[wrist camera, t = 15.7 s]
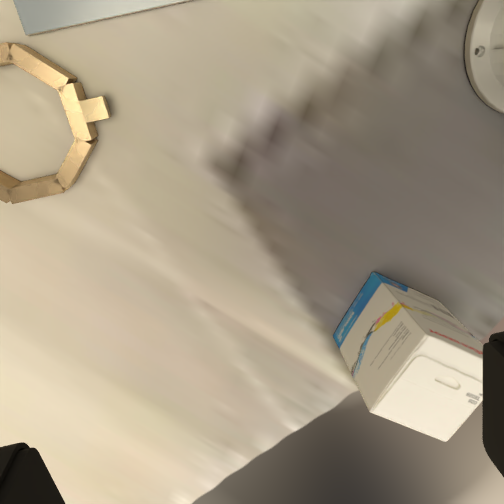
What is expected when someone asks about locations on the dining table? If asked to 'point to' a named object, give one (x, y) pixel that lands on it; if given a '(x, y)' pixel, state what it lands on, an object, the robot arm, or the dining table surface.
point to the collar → (78, 116)
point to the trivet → (78, 12)
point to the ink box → (411, 358)
